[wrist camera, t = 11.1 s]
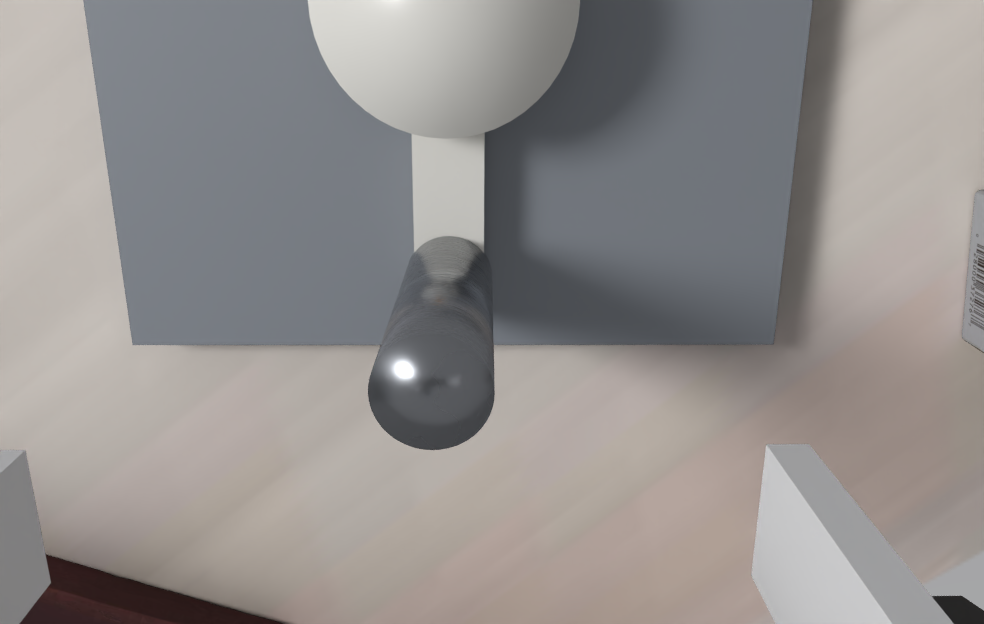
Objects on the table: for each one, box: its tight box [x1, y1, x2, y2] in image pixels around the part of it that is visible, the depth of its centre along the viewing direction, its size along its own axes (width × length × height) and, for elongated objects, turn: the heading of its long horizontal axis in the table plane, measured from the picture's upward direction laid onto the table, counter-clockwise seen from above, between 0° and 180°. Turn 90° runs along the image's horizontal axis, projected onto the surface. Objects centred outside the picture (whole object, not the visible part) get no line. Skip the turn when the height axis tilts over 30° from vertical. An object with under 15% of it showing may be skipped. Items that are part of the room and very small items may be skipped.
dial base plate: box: [83, 0, 813, 345], centre depth 27 cm, size 24×24×6 cm
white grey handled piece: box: [308, 0, 580, 450], centre depth 23 cm, size 20×8×11 cm, turn 0°
